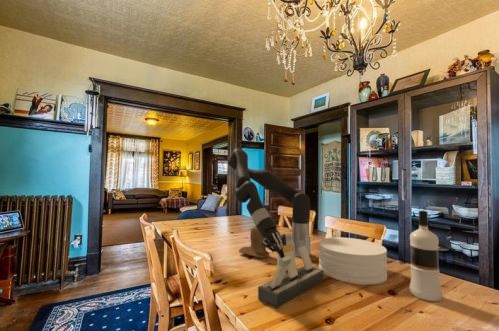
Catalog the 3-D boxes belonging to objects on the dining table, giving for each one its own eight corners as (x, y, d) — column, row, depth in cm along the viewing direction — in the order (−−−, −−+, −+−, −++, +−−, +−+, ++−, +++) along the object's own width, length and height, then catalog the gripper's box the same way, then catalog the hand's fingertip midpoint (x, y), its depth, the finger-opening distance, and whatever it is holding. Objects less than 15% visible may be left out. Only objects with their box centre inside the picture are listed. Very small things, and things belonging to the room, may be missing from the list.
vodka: (424, 303, 79) (421, 212, 80) (403, 290, 88) (401, 209, 89) (449, 302, 79) (446, 212, 81) (426, 289, 89) (424, 209, 90)
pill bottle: (296, 266, 110) (296, 233, 111) (292, 272, 103) (292, 237, 104) (280, 263, 113) (280, 232, 114) (274, 269, 106) (275, 235, 107)
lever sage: (268, 287, 79) (280, 258, 76) (277, 283, 82) (289, 255, 79) (271, 290, 78) (284, 261, 75) (280, 286, 81) (292, 258, 78)
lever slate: (305, 271, 94) (295, 242, 98) (311, 269, 97) (301, 240, 101) (308, 271, 93) (297, 241, 97) (314, 268, 96) (303, 239, 100)
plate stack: (394, 271, 107) (393, 245, 107) (376, 292, 86) (375, 260, 87) (334, 256, 126) (333, 234, 127) (307, 270, 105) (307, 244, 106)
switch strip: (258, 299, 80) (258, 286, 80) (306, 274, 101) (306, 264, 101) (276, 308, 74) (276, 294, 74) (323, 280, 95) (323, 270, 95)
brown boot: (274, 255, 126) (274, 226, 127) (262, 261, 116) (262, 230, 117) (250, 249, 135) (251, 223, 136) (238, 255, 125) (238, 226, 126)
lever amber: (289, 279, 86) (281, 246, 89) (295, 276, 89) (288, 244, 93) (292, 279, 85) (284, 245, 89) (298, 276, 89) (291, 243, 92)
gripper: (269, 224, 105) (290, 260, 96) (247, 228, 96) (269, 268, 87) (278, 214, 102) (302, 250, 92) (257, 217, 93) (280, 258, 83)
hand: (286, 259), depth 90 cm, fingers closed
